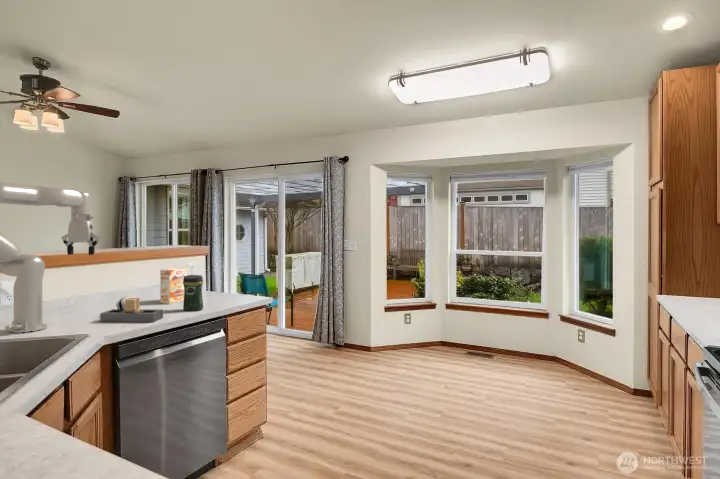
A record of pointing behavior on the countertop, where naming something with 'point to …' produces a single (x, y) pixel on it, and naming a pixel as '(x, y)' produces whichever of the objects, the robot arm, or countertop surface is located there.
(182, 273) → the coffeecake box
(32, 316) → the robot arm
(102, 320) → the rail
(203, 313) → the countertop surface
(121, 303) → the hinge
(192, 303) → the coffee jar
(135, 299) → the peg
